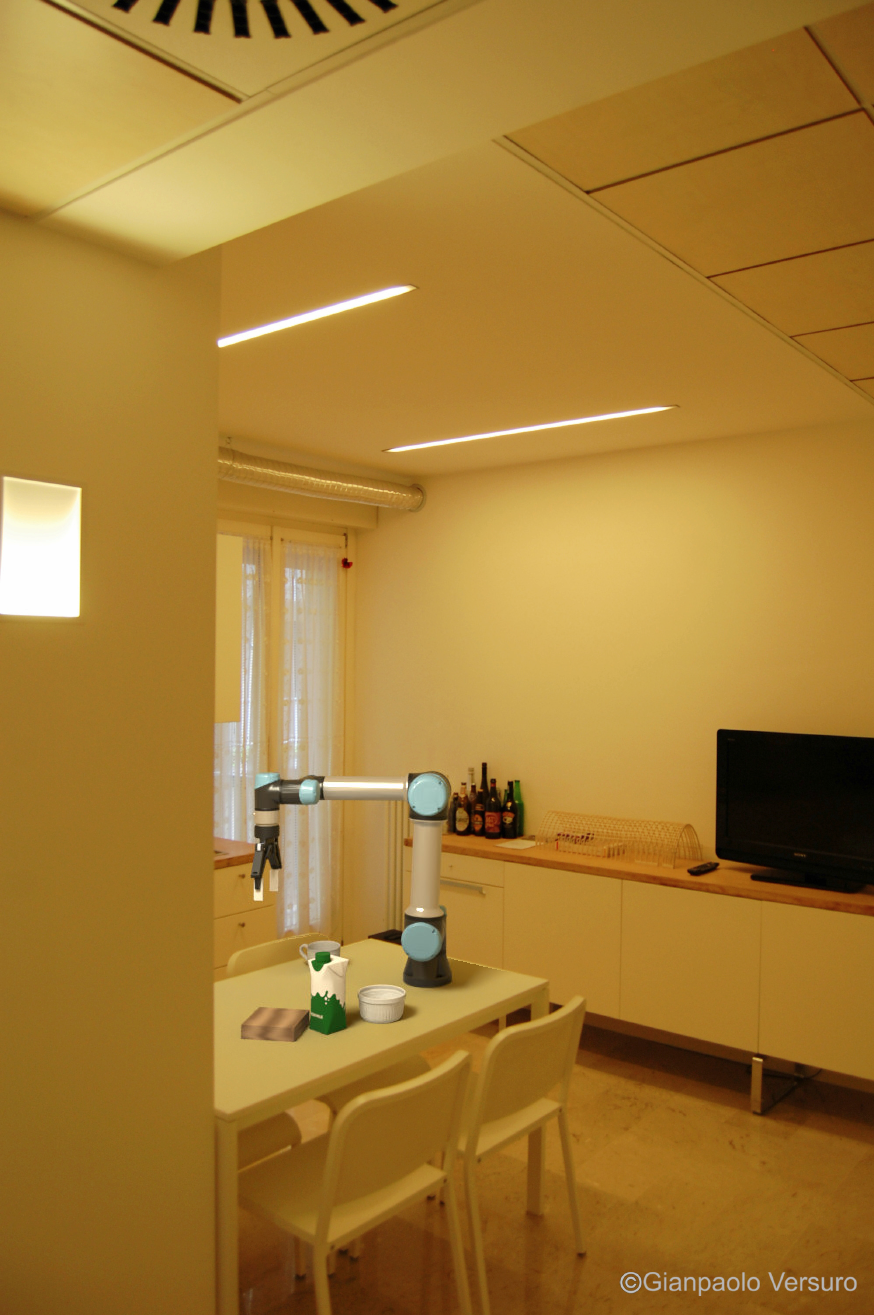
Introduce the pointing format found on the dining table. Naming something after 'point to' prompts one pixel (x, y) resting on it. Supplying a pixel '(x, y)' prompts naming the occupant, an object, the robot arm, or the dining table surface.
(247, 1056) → the dining table surface
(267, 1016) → the plinth
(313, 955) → the teacup
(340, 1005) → the soya milk
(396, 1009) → the ramekin
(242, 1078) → the dining table surface
